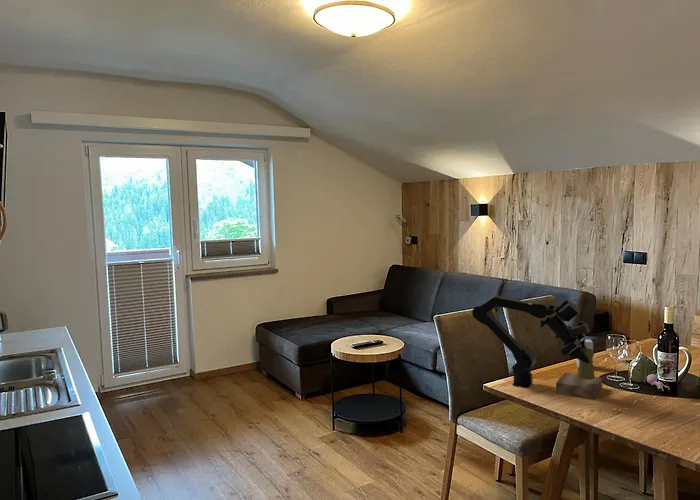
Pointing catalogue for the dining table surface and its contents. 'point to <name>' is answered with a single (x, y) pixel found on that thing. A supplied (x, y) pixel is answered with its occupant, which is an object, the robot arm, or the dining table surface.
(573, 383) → the walnut plinth
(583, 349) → the cork
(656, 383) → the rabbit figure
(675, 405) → the dining table surface
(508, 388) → the dining table surface
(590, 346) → the skincare box
